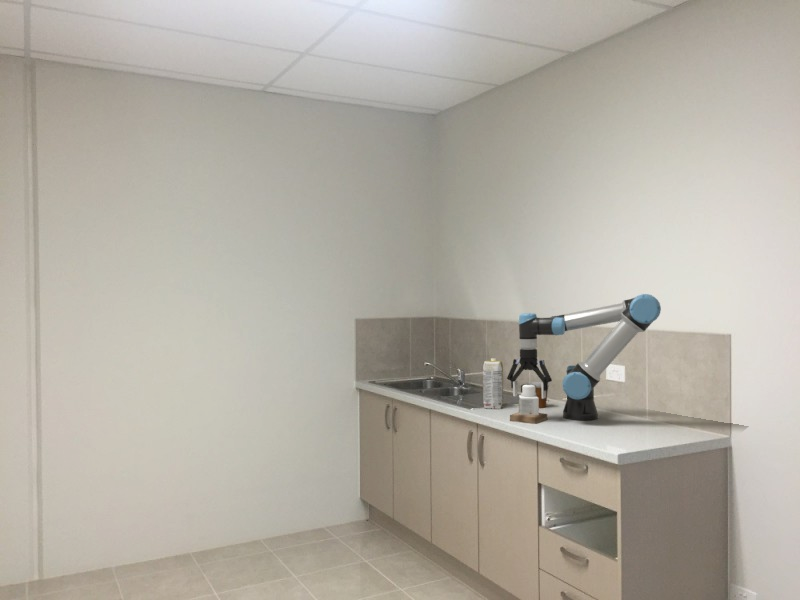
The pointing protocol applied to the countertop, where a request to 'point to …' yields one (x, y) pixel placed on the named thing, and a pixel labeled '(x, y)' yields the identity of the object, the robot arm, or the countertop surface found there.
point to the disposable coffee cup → (540, 393)
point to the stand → (528, 418)
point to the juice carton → (493, 384)
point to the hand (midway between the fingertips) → (529, 397)
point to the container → (528, 400)
